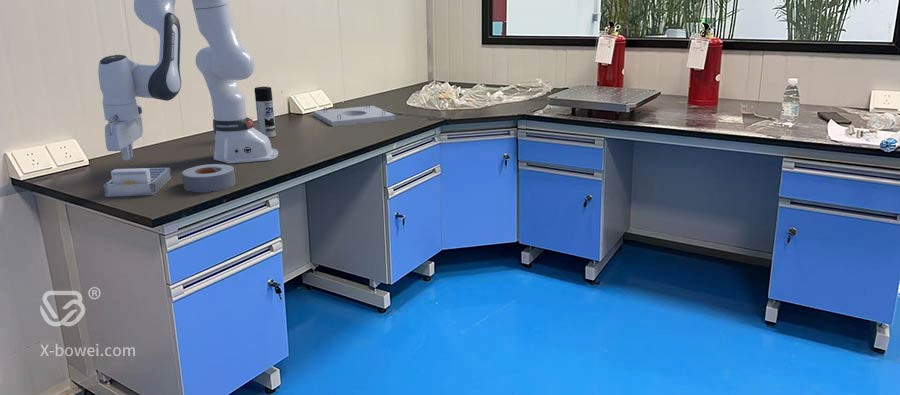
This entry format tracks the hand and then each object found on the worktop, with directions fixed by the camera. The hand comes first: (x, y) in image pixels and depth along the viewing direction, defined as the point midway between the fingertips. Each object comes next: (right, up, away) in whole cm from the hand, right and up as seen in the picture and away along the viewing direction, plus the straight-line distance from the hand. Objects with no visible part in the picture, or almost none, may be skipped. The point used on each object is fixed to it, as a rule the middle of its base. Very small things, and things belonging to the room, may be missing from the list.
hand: (128, 158), depth 197 cm
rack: (0, -8, +9) cm, 12 cm away
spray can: (+21, +13, +74) cm, 78 cm away
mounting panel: (+51, +25, +111) cm, 125 cm away
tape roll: (+21, -8, +11) cm, 24 cm away
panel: (0, -9, +3) cm, 9 cm away
